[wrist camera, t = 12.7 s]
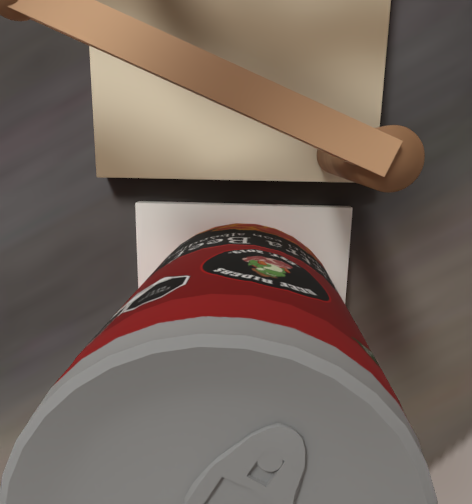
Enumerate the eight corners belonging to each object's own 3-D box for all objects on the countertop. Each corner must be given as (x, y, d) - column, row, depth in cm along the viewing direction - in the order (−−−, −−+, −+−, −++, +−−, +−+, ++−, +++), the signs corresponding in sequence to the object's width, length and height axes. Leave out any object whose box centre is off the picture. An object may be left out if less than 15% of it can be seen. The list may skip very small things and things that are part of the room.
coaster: (139, 201, 18) (135, 202, 17) (349, 205, 18) (352, 207, 17) (146, 398, 20) (142, 405, 19) (334, 406, 20) (336, 414, 19)
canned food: (360, 246, 17) (524, 406, 7) (301, 419, 19) (352, 762, 8) (172, 195, 17) (26, 270, 6) (131, 373, 19) (-35, 659, 8)
